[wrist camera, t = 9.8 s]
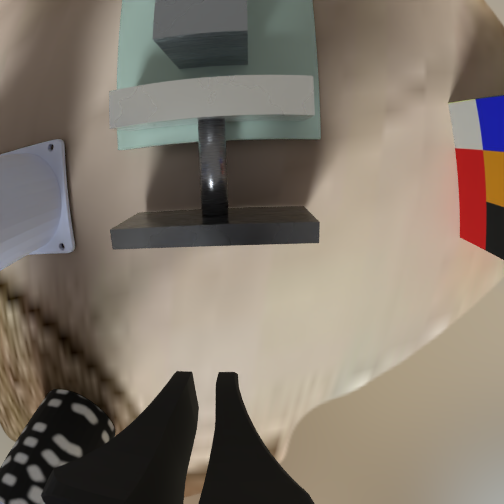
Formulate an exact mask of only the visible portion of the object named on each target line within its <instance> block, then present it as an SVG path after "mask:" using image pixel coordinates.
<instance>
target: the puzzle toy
mask: <svg viewBox="0 0 504 504" xmlns="http://www.w3.org/2000/svg"><path fill="white" fill-rule="evenodd" d="M448 105H449V110H450V116H451V122H452V129H453V135H454V143H455V151H456V160H457V171H458V184H459V202H460V238H462V239H464V240H466V241H468V242H470V243H472V244H474V245H476V246H478V247H480V248H482V249H484V250H486V251H488V252H490V253H492V254H494V255H495V256H497V257H499V258H501V259H503V260H504V95H500V96H492V97H484V98H477V99H470V100H464V101H457V102H451V103H448Z"/></svg>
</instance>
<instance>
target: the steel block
mask: <svg viewBox="0 0 504 504" xmlns="http://www.w3.org/2000/svg"><path fill="white" fill-rule="evenodd" d="M152 39H153V40H154V42H155V43H156V44H157V45H158V46H159V47H160V48H161V49H162V50H163V52H164V53H165V54H166V55H167V56H168V57H169V58H170V59H171V61H172V62H173V63H174V64H175V65H176V66H177V67H178V69H186V68H197V67H210V66H227V65H248V25H247V0H155V8H154V21H153V38H152Z"/></svg>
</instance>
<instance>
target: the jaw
mask: <svg viewBox="0 0 504 504" xmlns="http://www.w3.org/2000/svg"><path fill="white" fill-rule="evenodd" d="M314 115H315V106H314V83H313V76H307V75H234V76H217V77H203V78H192V79H183V80H174V81H166V82H159V83H152V84H146V85H139V86H134V87H128V88H123V89H118V90H113V91H109V119H110V129H116V130H124V131H138V130H145V129H153V128H162V127H171V126H181V125H193V124H198V144H199V168H200V188H201V206H202V209H194V210H175V211H157V212H142V213H137V214H136V215H134V216H132V217H131V218H129V219H127V220H126V221H124V222H122V223H120V224H119V225H117V226H116V227H114V228H112V229H111V230H110V233H111V240H112V247H113V249H137V248H166V247H196V246H228V245H261V244H297V243H319V221H318V220H317V219H316V218H315V217H314V216H313V215H312V214H311V213H310V212H309V211H308V210H307V209H306V208H305V207H304V206H283V207H244V208H228V189H227V163H226V133H225V122H245V121H305V120H307V119H309V118H311V117H312V116H314Z"/></svg>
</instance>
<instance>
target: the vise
mask: <svg viewBox="0 0 504 504" xmlns="http://www.w3.org/2000/svg"><path fill="white" fill-rule="evenodd" d="M154 8H155V0H122V9H121V19H120V31H119V46H118V67H117V90H118V89H123V88H128V87H134V86H139V85H146V84H152V83H159V82H166V81H174V80H183V79H192V78H203V77H217V76H234V75H307V76H313V83H314V106H315V115H314V116H312V117H311V118H309V119H307V120H305V121H245V122H225V133H226V141H230V140H261V139H309V140H318V139H321V130H320V100H319V79H318V62H317V48H316V35H315V23H314V12H313V3H312V0H247V25H248V65H227V66H210V67H197V68H186V69H178V67H177V66H176V65H175V64H174V63H173V62H172V61H171V59H170V58H169V57H168V56H167V55H166V54H165V53H164V52H163V50H162V49H161V48H160V47H159V46H158V45H157V44H156V43H155V42H154V40H153V39H152V38H153V21H154ZM117 136H118V150H127V149H135V148H143V147H152V146H162V145H172V144H183V143H196V142H198V124H193V125H181V126H171V127H162V128H153V129H145V130H138V131H124V130H117Z"/></svg>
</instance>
